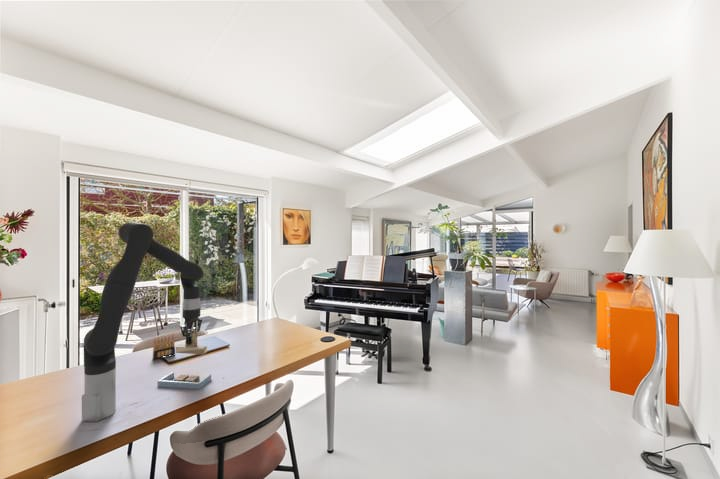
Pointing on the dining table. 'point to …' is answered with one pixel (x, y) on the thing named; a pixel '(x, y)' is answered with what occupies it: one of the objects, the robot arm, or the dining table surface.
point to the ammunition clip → (163, 348)
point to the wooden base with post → (192, 346)
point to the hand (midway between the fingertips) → (191, 342)
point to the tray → (179, 384)
